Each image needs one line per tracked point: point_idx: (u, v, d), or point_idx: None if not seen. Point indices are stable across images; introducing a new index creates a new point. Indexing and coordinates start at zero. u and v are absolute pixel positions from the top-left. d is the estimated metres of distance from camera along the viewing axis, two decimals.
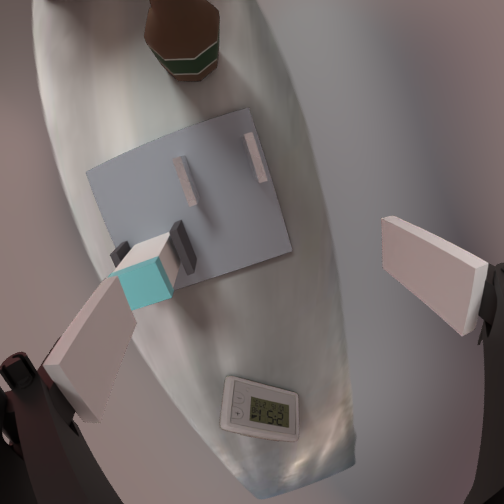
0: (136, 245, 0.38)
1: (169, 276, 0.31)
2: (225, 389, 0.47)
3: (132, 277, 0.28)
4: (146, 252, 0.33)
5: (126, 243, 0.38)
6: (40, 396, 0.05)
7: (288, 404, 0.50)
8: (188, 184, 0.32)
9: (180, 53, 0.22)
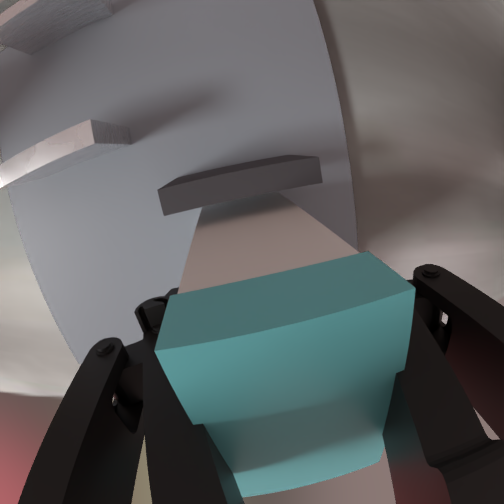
0: None
1: (299, 254, 0.07)
2: None
3: (242, 447, 0.05)
4: None
5: None
6: None
7: None
8: (40, 146, 0.09)
9: None
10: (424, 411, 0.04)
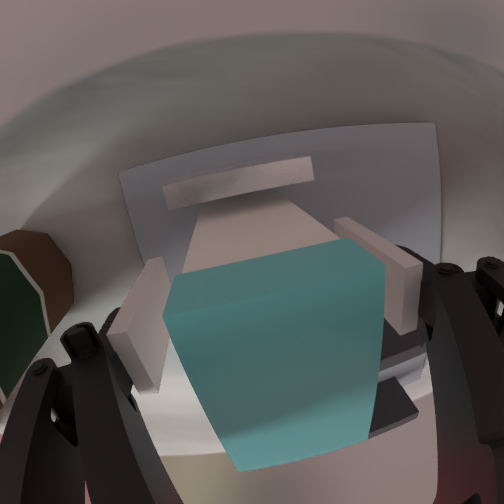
0: None
1: (288, 241, 0.08)
2: None
3: (237, 414, 0.06)
4: None
5: None
6: (103, 368, 0.07)
7: None
8: None
9: None
10: (481, 393, 0.03)
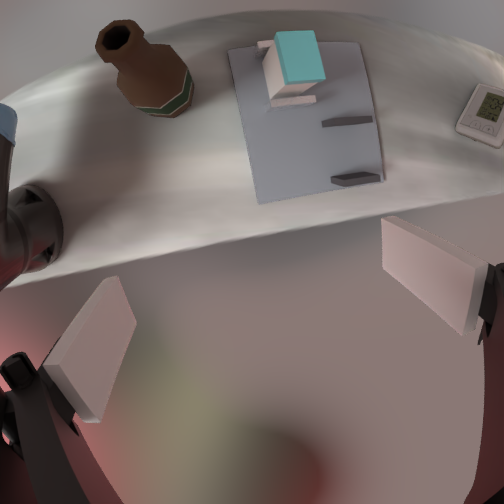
0: (270, 94, 0.36)
1: None
2: (466, 133, 0.39)
3: (288, 54, 0.25)
4: (273, 63, 0.30)
5: (333, 176, 0.41)
6: (40, 396, 0.05)
7: (486, 92, 0.36)
8: (296, 98, 0.33)
9: (182, 73, 0.25)
10: None
